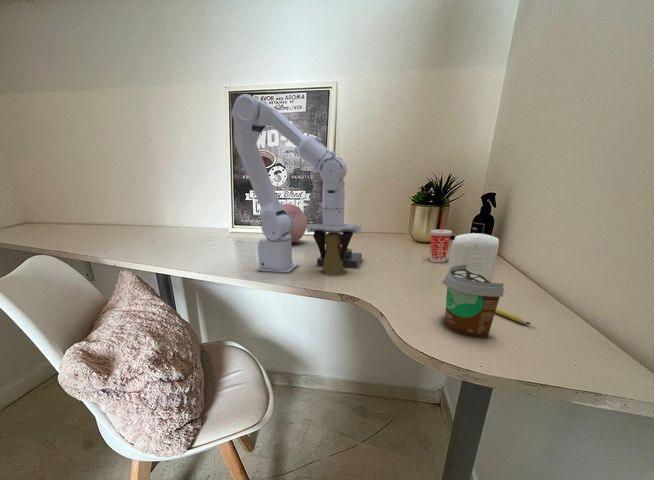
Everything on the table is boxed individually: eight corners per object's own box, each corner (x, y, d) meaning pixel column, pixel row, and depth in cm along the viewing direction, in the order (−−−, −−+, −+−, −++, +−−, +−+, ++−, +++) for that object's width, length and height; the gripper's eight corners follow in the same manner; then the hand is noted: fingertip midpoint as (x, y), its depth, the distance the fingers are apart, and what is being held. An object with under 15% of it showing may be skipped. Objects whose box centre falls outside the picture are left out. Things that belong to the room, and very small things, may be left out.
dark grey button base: (317, 266, 101) (317, 253, 99) (325, 258, 110) (325, 245, 108) (356, 268, 98) (357, 254, 96) (361, 259, 106) (362, 247, 105)
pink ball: (314, 243, 131) (314, 203, 125) (281, 249, 123) (279, 206, 117) (294, 238, 142) (292, 201, 136) (262, 242, 134) (259, 203, 128)
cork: (342, 275, 92) (343, 235, 87) (320, 274, 93) (320, 234, 88) (344, 269, 97) (345, 231, 93) (324, 268, 98) (324, 230, 94)
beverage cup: (426, 262, 102) (432, 214, 97) (427, 257, 107) (433, 212, 102) (447, 263, 100) (454, 215, 94) (448, 258, 105) (454, 212, 100)
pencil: (528, 327, 60) (529, 322, 60) (466, 301, 72) (467, 297, 72) (532, 326, 61) (533, 321, 60) (469, 301, 72) (470, 296, 72)
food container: (427, 313, 67) (433, 265, 63) (456, 312, 67) (465, 263, 63) (457, 343, 56) (467, 286, 52) (492, 340, 56) (505, 284, 52)
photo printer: (489, 282, 83) (499, 232, 78) (492, 288, 80) (503, 236, 75) (445, 279, 86) (452, 231, 81) (446, 285, 82) (453, 234, 77)
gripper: (302, 209, 86) (304, 260, 92) (358, 210, 82) (356, 263, 88) (310, 206, 92) (311, 254, 98) (362, 207, 89) (360, 257, 94)
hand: (333, 258), depth 93 cm, fingers open, 5 cm apart
